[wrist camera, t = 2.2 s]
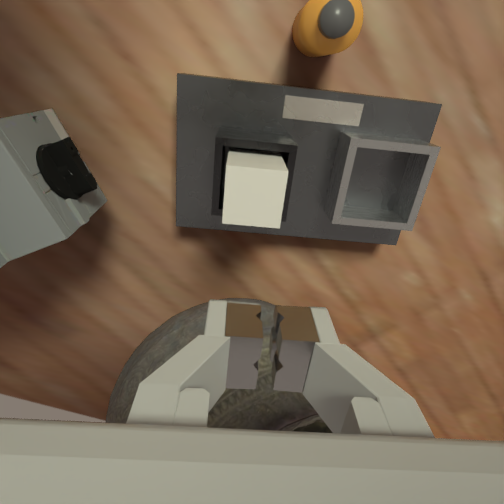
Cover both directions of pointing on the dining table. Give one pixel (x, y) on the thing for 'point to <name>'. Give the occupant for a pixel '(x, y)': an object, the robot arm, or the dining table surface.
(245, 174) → the button
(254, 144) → the grey socket board
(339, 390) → the robot arm
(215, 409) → the pot
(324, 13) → the orange rounded cylinder
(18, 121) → the circuit breaker
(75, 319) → the dining table surface
